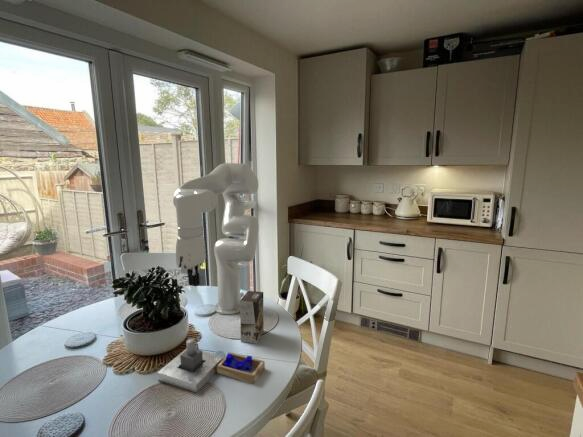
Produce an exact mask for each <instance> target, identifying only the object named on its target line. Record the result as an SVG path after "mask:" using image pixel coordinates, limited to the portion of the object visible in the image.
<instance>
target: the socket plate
mask: <svg viewBox="0 0 583 437" xmlns="http://www.w3.org/2000/svg"><path fill="white" fill-rule="evenodd" d="M186 350H187V347H186V348H185V349H184V350H183V351H182V352H180V353H178V355H177V356H175V357H174V358H173V359H172V360H171V361H170V362H168V363H167V364H166V365H165V366H164V367H162V368H161V369H160V370H158V371H157V381H159V382H160V381H161V382H163V383H166V384H170V385H171V386H175V387H178V388H182V389H186V390H187V391H188V390H189V391H190V392H194V393H198V392H199V390H200V389H201V388H203V386H204V385H205V384H206V383H207V382H208V381H209V380H210V379H211V378H212V377H213V376H214V374H216V373H217V365H218V364H219V363H220V362H221V361H222V360H223V359H224V358H225V357H224V356H223V355H219V354H215V353H211V352H208V351H205V350H202V358H203V364H202V365H201V366H200V367H199V368H198V369H197V370H196V371H195V372H194V373H193V372H189V371H186V370H183V369H181V359H180V355H181V354H183V353H184V352H185V351H186Z"/></svg>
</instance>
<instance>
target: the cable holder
mask: <svg viewBox="0 0 583 437" xmlns="http://www.w3.org/2000/svg"><path fill="white" fill-rule="evenodd" d="M225 357H226V362H225V364H224V366H226V367H229V368H233V369H237V370H240V371H245V372H246V371H248V372H251V370H252V368H253V367H252V358H253V356H252V355H247V356H246V357H247V358H246V360H245V361H244V362H238V361H236V360H235V359H234V357H233V354H229V353H227V355H226V356H225Z"/></svg>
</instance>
